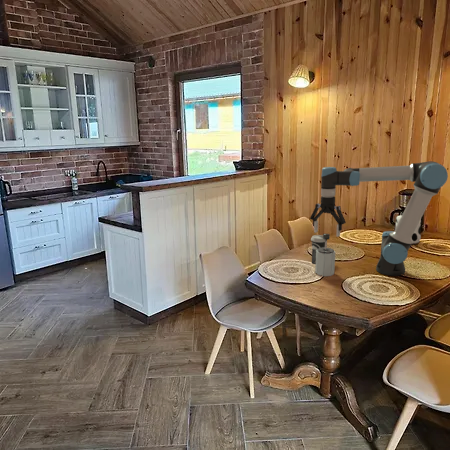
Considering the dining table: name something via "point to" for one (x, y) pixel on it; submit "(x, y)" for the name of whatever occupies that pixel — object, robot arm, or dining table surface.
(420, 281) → the dining table surface
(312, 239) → the coffee cup
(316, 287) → the dining table surface
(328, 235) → the plunger
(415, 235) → the milk container
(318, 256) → the carafe
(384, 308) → the dining table surface
